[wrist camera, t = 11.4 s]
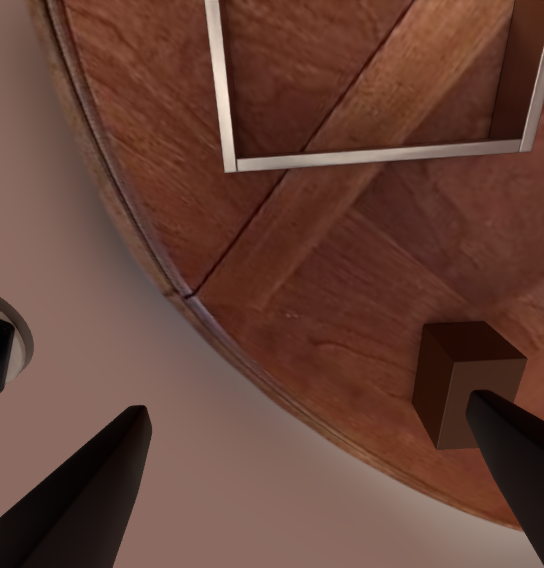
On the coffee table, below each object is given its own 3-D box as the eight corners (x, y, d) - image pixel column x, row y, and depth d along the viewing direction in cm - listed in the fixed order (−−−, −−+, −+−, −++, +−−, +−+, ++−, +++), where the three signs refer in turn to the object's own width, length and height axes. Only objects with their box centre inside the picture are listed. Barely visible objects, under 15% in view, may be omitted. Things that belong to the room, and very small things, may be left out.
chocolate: (465, 400, 24) (499, 447, 21) (411, 403, 24) (436, 450, 21) (484, 320, 21) (528, 358, 18) (423, 324, 21) (454, 362, 18)
